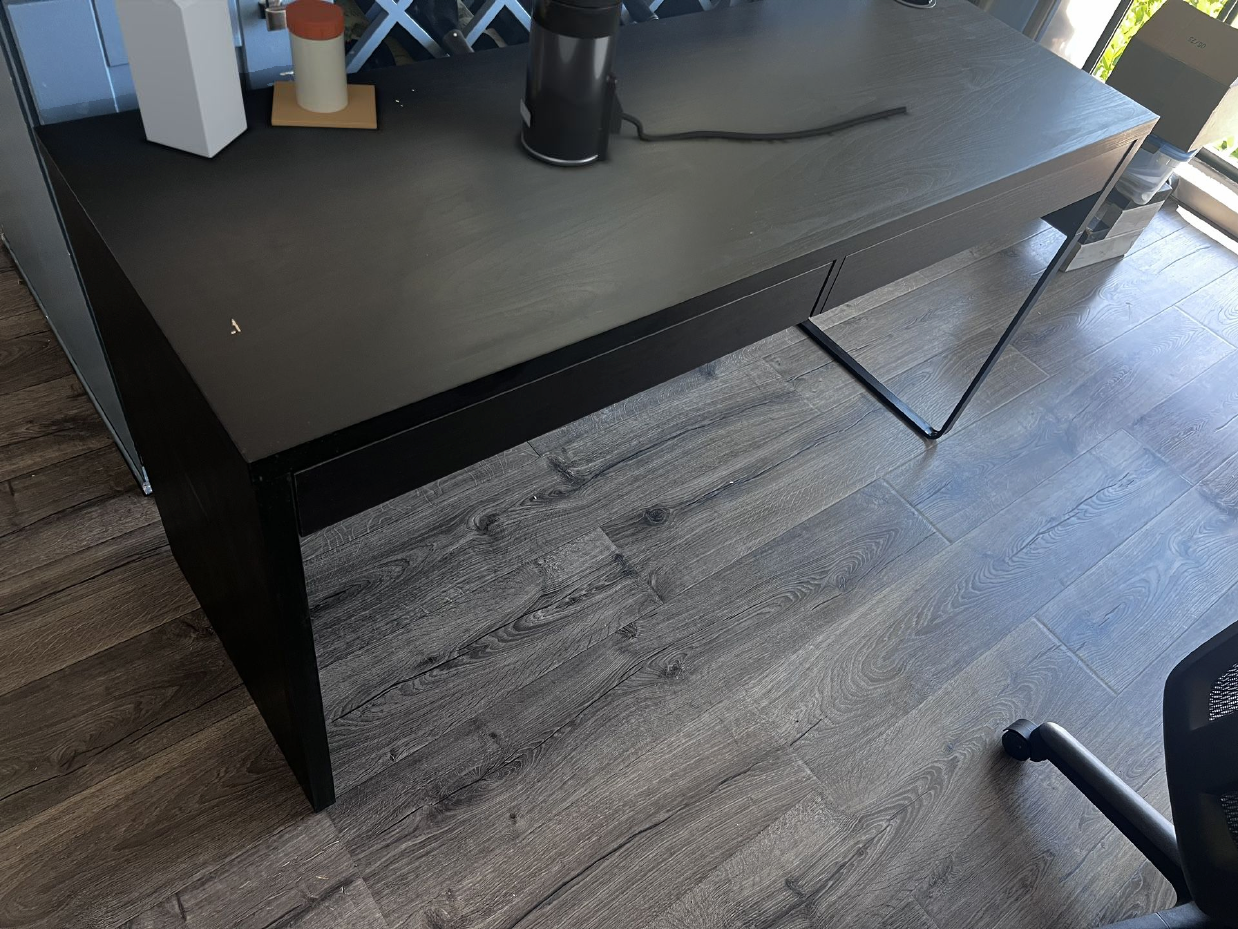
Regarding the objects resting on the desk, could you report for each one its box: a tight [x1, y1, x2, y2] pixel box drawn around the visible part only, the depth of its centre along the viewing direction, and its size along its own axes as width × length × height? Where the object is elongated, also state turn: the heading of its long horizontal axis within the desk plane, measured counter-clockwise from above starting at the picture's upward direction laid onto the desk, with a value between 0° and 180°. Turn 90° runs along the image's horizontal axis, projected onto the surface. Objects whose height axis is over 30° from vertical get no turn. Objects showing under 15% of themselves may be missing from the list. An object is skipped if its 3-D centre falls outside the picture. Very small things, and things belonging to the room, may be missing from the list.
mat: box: [271, 80, 378, 130], centre depth 106 cm, size 11×9×1 cm
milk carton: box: [113, 0, 248, 158], centre depth 91 cm, size 7×7×19 cm
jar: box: [288, 30, 348, 113], centre depth 102 cm, size 6×6×9 cm
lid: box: [284, 0, 345, 39], centre depth 99 cm, size 6×6×2 cm
